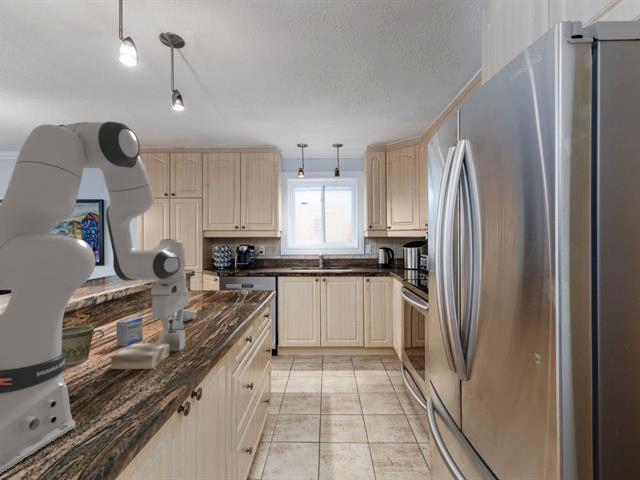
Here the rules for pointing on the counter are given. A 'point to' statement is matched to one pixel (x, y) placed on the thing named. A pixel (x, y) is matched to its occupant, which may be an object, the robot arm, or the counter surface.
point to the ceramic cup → (77, 343)
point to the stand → (140, 356)
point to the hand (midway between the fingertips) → (172, 324)
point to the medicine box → (129, 331)
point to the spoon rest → (185, 317)
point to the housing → (173, 339)
